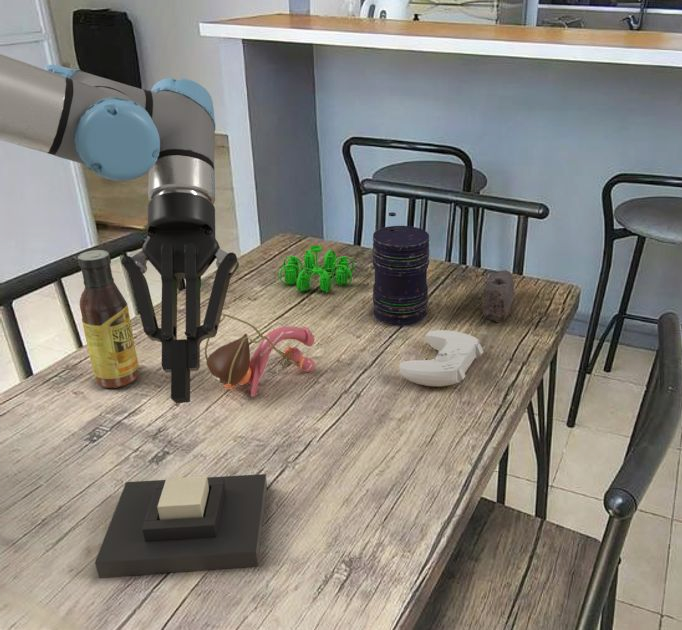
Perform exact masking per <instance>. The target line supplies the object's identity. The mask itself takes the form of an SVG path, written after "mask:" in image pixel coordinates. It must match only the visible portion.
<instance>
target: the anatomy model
mask: <svg viewBox="0 0 682 630" xmlns="http://www.w3.org/2000/svg"><path fill="white" fill-rule="evenodd" d="M221 317H222V318H220V322H219V324H220V323H222V322H223V321H224V320H225V319H226V317H228V318H230V319H233V320H236V321H238V322H240V323H243V324H245V325H247V326H249V327H251V328H253V330H254V331H255V332H256V333H257V334H258V335H259V336H260V338H259V339H258V340H254V339H252V338H251V337H250V336H248V334H247V333H244V334H243V335H242V336H241V337H239V338H238V339H235V340H233V341H231V342H229V343H226V344H224V345H221V346H220V347H218V348H217V349H216V350H214V351H213V352H212V353H210V354H209V355H208V345H209V342H210V339H211V338H207V339H206V343H205V347H204V357H205V360H206V366H207V368H208V370H209V374H210V375H211V376H212V377H213V378H214V379H215V380H217V381H218V382H219V383H221V384H223V388H224V389H227V390H233V388H234V387H235V386H236V385H237V384H238V385H239V386H243V385H246V384H247V383H248V384H249V385H250V386H251V389H250V397H251V398H253V397H256V396H257V394H258V389H259V383H260V381H261V379H262V378H263V376H264V374H265V371H266V368H267V365H268V362H269V358H270V356H271V353H272V351H273V350H274V351H275V352H277V353H278V355H280V356H281V359H279V360H278V361H277V363H278V364H280V365H281V367H282V368H285V367H286V365H287V364H288V363H291V364H292V365H294V366H296V367H297V368H298V369H299V370H301V371H304V372H307V373H311V372H313V371H314V370H315V367H316V364H315V362H314V360H313V359H311V358H310V357H307V356H306V357H304V356H303V352H302V350H300V349H299V348H298V347H295V346H288V347H286V348H285V350H284V352H283V351H281V350H279V349H278V348H277V347H276V346H277V345H278V344H279V343H280V342H281V341H283V340H293V341H298V342H299V343H301V344H303V345H304V346H307V347H312V346H313V345H314V344H315V341H316V339H315V336H314V335H313V333H312V331H310V329H309V328H308V327H307V326H301V327H296V326H291V325H287V326H281V327H277V328H275V329H273V330H271V331H269V332H268V333H267V334H266V335H263V334H262V333H261V332H260V331H259V330H258V329H257V328H256V326H255V325H253V324H251V323H250V322H248V321H246V320H243V319H240V318H238V317H236V316H233V315H230V314H226V313H222V314H221ZM250 342H252V343H253V344H259V345H258V346H257V347H256V349H255V350H254V352H253V354H252V355H251V350H250Z"/></svg>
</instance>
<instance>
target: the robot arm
mask: <svg viewBox="0 0 682 630" xmlns="http://www.w3.org/2000/svg"><path fill="white" fill-rule="evenodd" d="M215 119H216V118H215V108H214V101H213V98H212V96H211V94H210V92H209V91H208V90H207V89H206V88H205V87H204V86H203V85H202V84H200V83H199V82H196V81H194V80H192V79H189V78H183V77H181V78H180V79H176V78H173V77H167V78H164V79H161V80H159V81H157V82H156V83H155V84H154V85H153V86H152V88H151V90H150V89H144V88H139V87H135V86H132V85H129V84H126V83H122V82H119V81H115V80H112V79H109V78H106V77H102V76H98V75H95V74H92V73H88V72H85V71H82V69H79V68H70V67H66V66H62V65H57V64H48V65H46V66H45V67H44V68H42V67H38V66H35V65H33V64H30V63H28V62H25V61H21V60H18V59H16V58H13V57H10V56H7V55H4V54H1V53H0V141H2V142H6V143H10V144H14V145H17V146H20V147H23V148H28V149H31V150H35V151H39V152H41V153H46V154H48V155H52V156H55V157H58V158H60V159H65V160H68V161H72V162H75V163H79V164H82V165H84V166H85V167H86V168H87V169H88V170H90V171H92V173H95V174H97V175H98V176H100V177H102V178H104V179H107V180H110V181H115V182H126V181H127V182H128V181H132V180H135V179H138V178H141V177H143V176H144V175H145V174H147V173H148V186H147V187H148V188H147V198H148V201H149V202H148V204H147V226H146V227H147V230H146V231H147V232H146V233H147V234H146V239H145V241H144V242H143V244H142V247H141V250H140V251H139V252H137V253H135V255H133V256H129V255H125V256H122V258H121V260H120V262H121V265H122V266H123V268H125V270H126V271H127V273H128V274H129V276H130V279H131V280H130V281H131V284H132V287H133V292H134V296H135V300H136V305H137V309H138V312H139V317H140V321H141V325H142V329H143V333H144V334H145V335H146V336H147V337H148V338H149V340H151V341H153V342H159V343H161V367H162V370H163V371H164V372H165V373H170V399H171V400H172V401H173V402H174V403H175V404H185V403H191V372H198V371H199V369H200V368H201V343H202V342H203V341H205V340H207V339H208V338H210V339H212V338H215V337H216V336H217V334H218V331H219V326H220V323H219V322H220V320H221V319H222V318H221V317H222V316H221V314H223V310H224V305H225V301H226V298H227V293H228V291H229V286H230V282H231V278H232V277H234V274H235V273H236V272H237V270H238V269H239V268H240V267H239V266H240V263H239V260H238V256H237V254H236V252H227V251H225V250H223V249H221V247H220V243H219V242H218V240H217V237H216V208H215V207H216V206H215V205H214V204H215V202H216V187H215V186H216V179H215V177H216V176H215V137H216V135H215V134H216V132H215V131H216V120H215ZM215 260H216V261H215ZM148 262H149V263H150V264H151V265H152V266H153V268H154V269H155V270H156V271H157V272H158V274H159V275H160V279H161V307H160V308H161V309H160V313H161V314H160V316H161V317H160V327H159V324H158V319H157V315H156V312H155V308H154V303H153V300H152V296H151V292H150V288H149V284H148V281H147V278H146V276H145V275H144V274H145V273H146V272H147V271H148V267H147V263H148ZM214 262H215V266H216V268H217V269H216V273H215V276H214V280H213V284H212V288H211V291H210V295H209V299H208V303H207V307H206V311H205V315H204V319H203V322H202V324H201V288H202V276H204V274H205V273H206V272H207V271H208V269H209V268H210V267H211V265H212V264H213V263H214ZM183 279H184V280H185V331H183V332H184V335H185V336H186V338H182V339H178V289H179V280H183Z"/></svg>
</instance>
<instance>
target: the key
mask: <svg viewBox="0 0 682 630" xmlns="http://www.w3.org/2000/svg"><path fill="white" fill-rule="evenodd" d="M207 477H208V476H207V475H204V476H186V477H184V476H183V477H169V478H168V477H167V478H165V480H166V481H165V484H164V487H163V490H162V494H161V497H160V500H159V503H158V506H157V507H158V512H159V517H160V520H172V519H187V518H203V515H204V511H205V506H206V502H207V497H208V493H209V485H208V479H207Z"/></svg>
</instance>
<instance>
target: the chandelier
mask: <svg viewBox="0 0 682 630" xmlns="http://www.w3.org/2000/svg"><path fill="white" fill-rule="evenodd" d="M322 251H323V247H322V246H321V245H311V246H310V248H309V249H307V250H305V253H304V257H303V262H304V265H303V262H302V261H301V259H300V258H299V257H297V256H295V255H288V256H287V257H285V258H284V259H283V261H282V267H281V268H280V270H279V273H278V278H279V280H280V282H281V283H282V284H283V285H286V286H293V285H296V289H297V291H298V292H299V293H301V294H302V293H305V292H306V291H308V290H310V285H311V277H312V276H313V275H319V279H318V280H319V289H320V290H321V291H324V293H325V294H326V293H330V290H331V289H332V280H333V281H334V283H335V284H337V285H339V286H341V287H346V286H348V285H349V284H350V283H351V282H352V280H353V271H354V269H355V263H354V261H353V260H352V258H350V257H349V256H346V255H345V256H344V255H343V256H338V258H337V255H336V252H335V251H334V250H332V249H329V250H328V251H327V252H326V253H325V255H324V258H323V265H321V266H320V267H319V260H318V259H319V258H318V253H320V252H322ZM287 259H288V260H287ZM286 261H287V264H286ZM349 261H351V269H350V264H349ZM337 262H338V263H337ZM299 265H300V266H299ZM283 271H284V273H283V274H284V281H283V279H282V277H281V275H282V272H283ZM310 273H311V274H310ZM348 276H349V281H348Z"/></svg>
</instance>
